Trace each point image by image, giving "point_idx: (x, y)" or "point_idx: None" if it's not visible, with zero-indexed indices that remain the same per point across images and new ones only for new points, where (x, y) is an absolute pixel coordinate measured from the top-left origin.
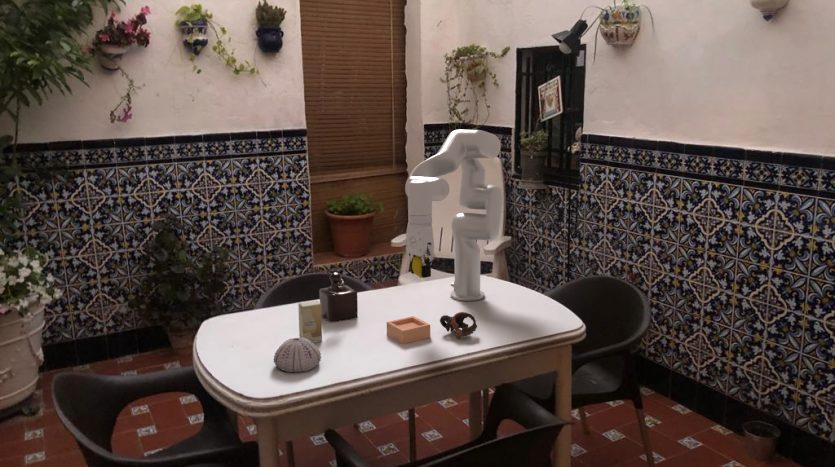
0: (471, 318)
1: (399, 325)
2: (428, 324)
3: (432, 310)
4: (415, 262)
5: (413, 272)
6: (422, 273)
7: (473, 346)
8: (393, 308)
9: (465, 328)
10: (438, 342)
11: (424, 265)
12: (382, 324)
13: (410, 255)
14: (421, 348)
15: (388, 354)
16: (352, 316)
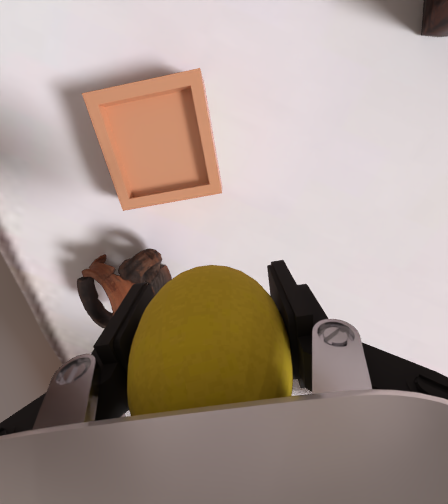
0: (108, 320)
1: (184, 122)
2: (125, 206)
3: (327, 285)
4: (165, 328)
5: (269, 274)
6: (123, 300)
7: (51, 269)
8: (414, 198)
9: (78, 285)
10: (94, 206)
11: (67, 362)
12: (302, 105)
13: (366, 372)
14: (58, 144)
15: (21, 10)
16: (431, 2)
